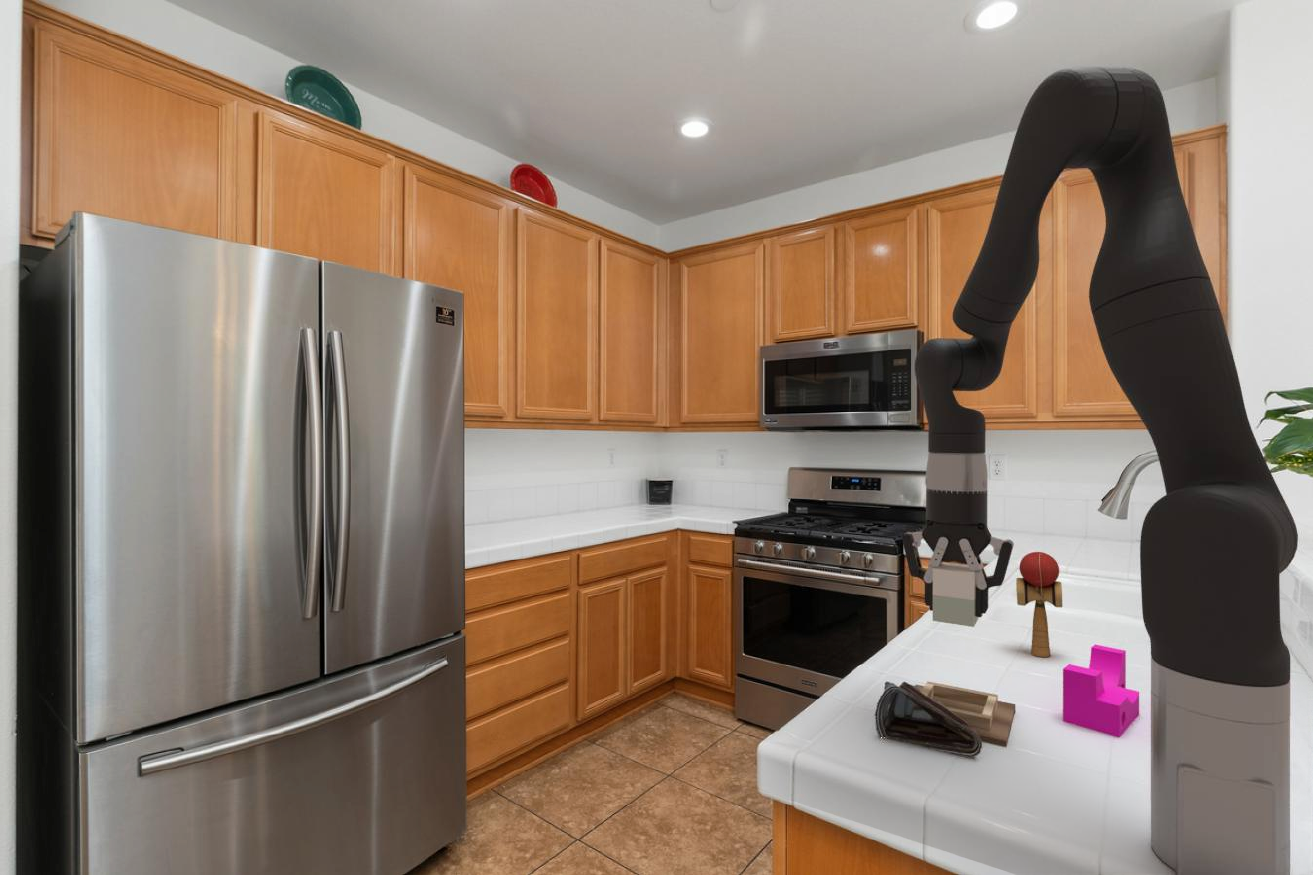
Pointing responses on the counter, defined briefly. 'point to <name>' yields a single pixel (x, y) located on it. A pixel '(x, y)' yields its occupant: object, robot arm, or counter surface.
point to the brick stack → (954, 594)
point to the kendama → (1039, 595)
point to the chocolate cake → (923, 722)
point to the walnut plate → (976, 710)
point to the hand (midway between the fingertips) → (955, 612)
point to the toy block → (1100, 693)
